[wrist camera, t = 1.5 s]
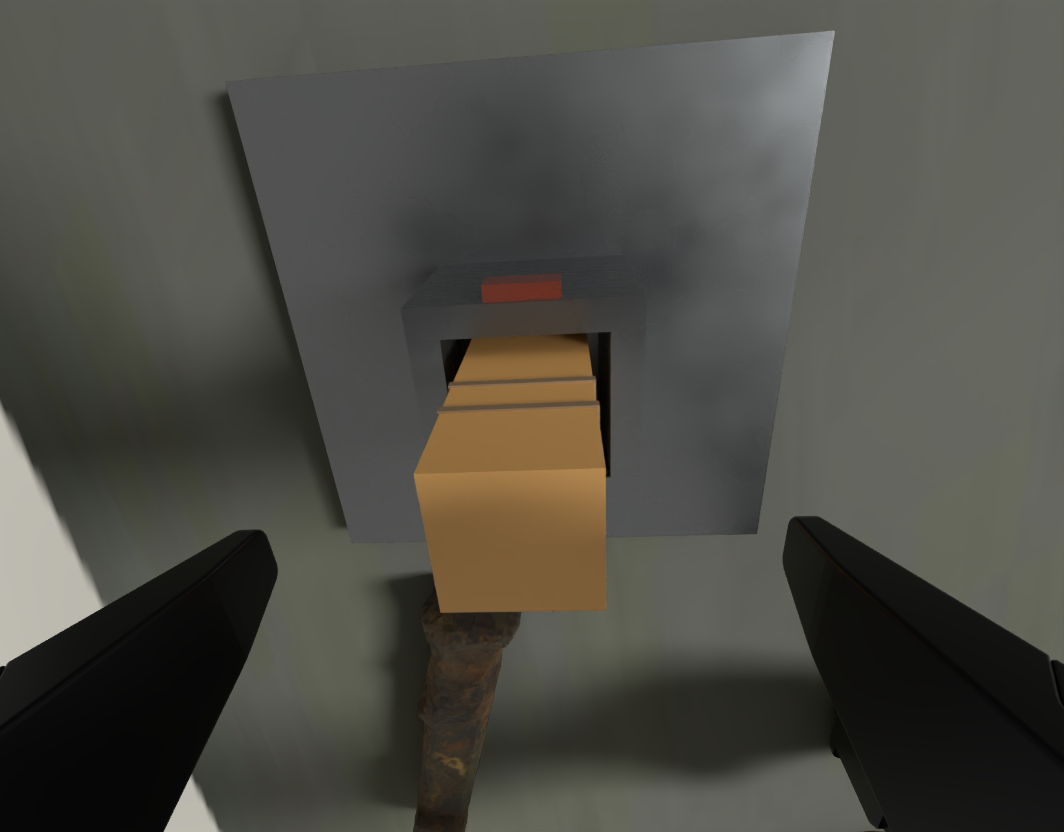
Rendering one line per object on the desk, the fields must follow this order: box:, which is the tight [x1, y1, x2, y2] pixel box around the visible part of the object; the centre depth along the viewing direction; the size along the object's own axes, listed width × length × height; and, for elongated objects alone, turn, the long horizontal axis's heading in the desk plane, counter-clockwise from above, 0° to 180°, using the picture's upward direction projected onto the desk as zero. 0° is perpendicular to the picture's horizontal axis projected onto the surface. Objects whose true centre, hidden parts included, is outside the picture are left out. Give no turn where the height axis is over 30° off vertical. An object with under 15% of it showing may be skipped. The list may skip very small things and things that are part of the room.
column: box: [414, 333, 606, 613], centre depth 13 cm, size 3×3×10 cm
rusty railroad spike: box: [413, 586, 521, 832], centre depth 26 cm, size 19×4×5 cm, turn 168°
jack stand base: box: [225, 31, 835, 543], centre depth 16 cm, size 16×16×6 cm
